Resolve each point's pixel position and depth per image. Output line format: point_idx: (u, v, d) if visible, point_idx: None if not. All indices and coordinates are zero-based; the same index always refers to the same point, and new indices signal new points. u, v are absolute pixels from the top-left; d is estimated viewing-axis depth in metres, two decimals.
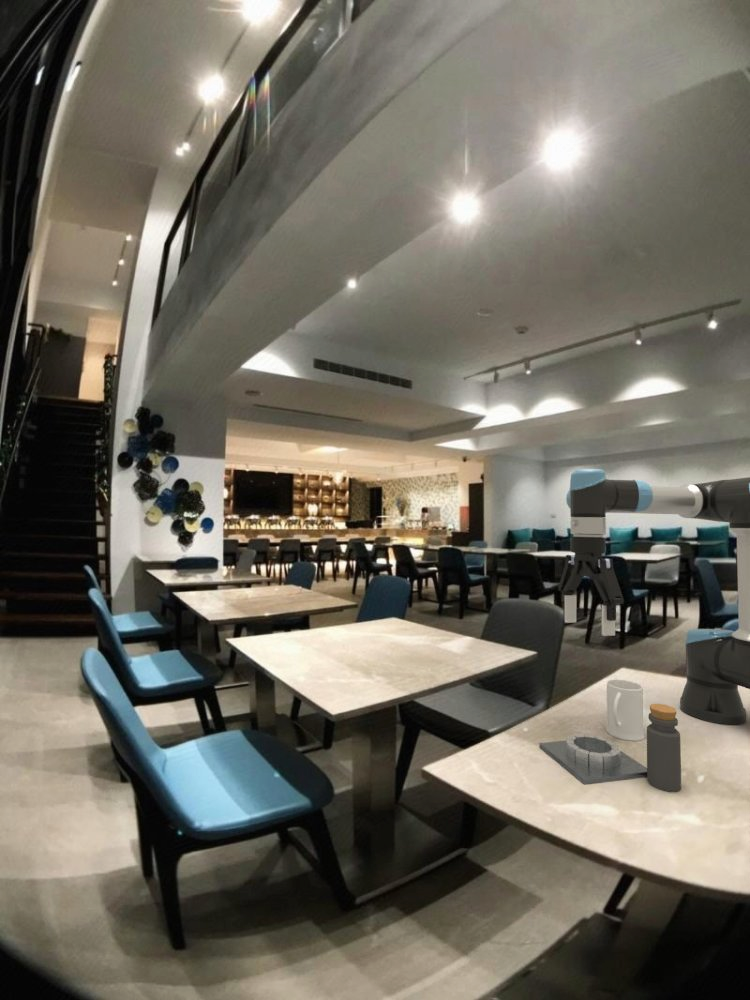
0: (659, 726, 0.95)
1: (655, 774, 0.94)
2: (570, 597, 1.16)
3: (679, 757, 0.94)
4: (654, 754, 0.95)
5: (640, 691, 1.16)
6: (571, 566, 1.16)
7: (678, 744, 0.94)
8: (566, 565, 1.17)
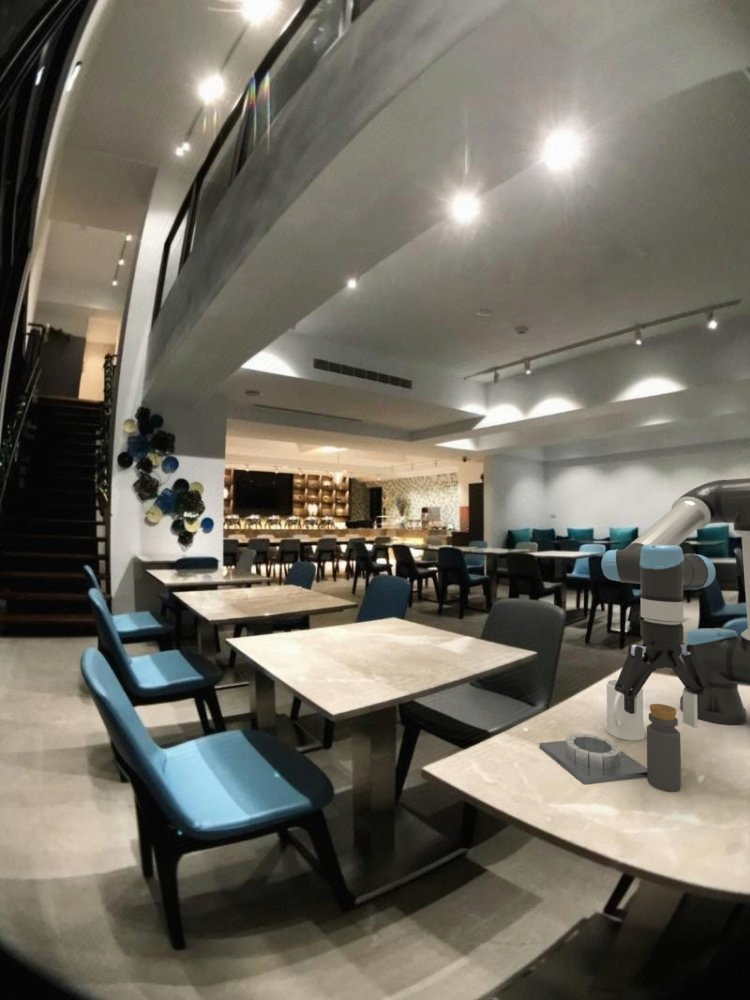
0: (659, 726, 0.95)
1: (655, 774, 0.94)
2: (687, 694, 0.98)
3: (679, 757, 0.94)
4: (654, 754, 0.95)
5: (640, 691, 1.16)
6: (685, 657, 0.98)
7: (678, 744, 0.94)
8: None
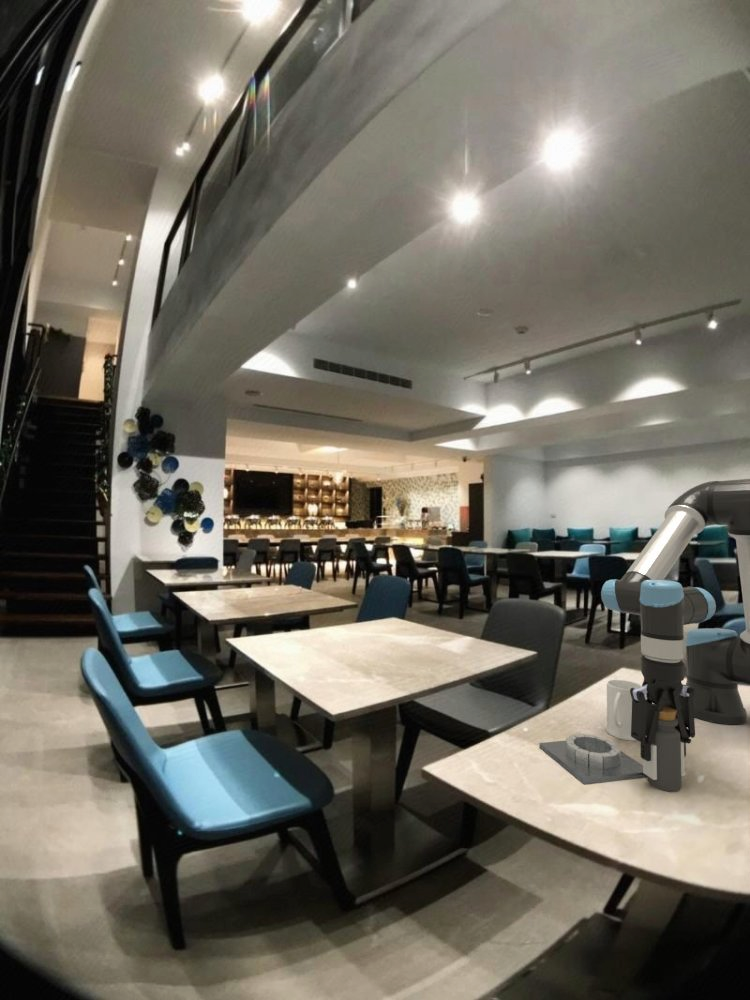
0: (659, 726, 0.95)
1: None
2: None
3: (679, 757, 0.94)
4: None
5: None
6: (682, 698, 0.98)
7: (678, 744, 0.94)
8: None
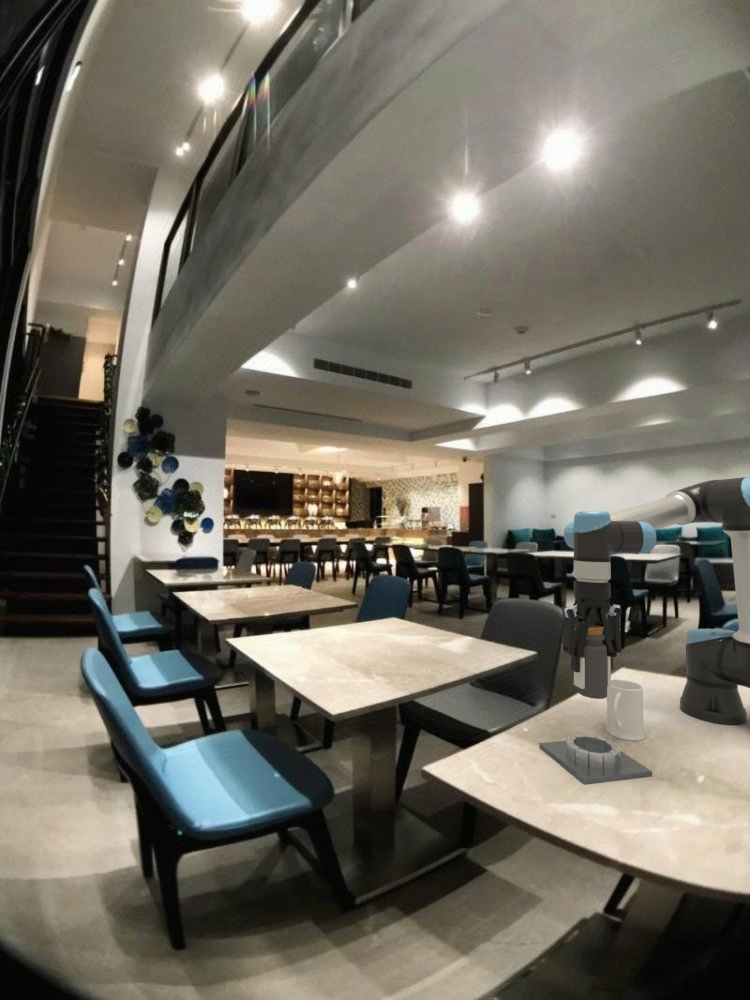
0: (588, 641, 1.05)
1: None
2: None
3: (605, 668, 1.03)
4: None
5: (640, 691, 1.16)
6: (610, 618, 1.07)
7: (604, 656, 1.03)
8: None
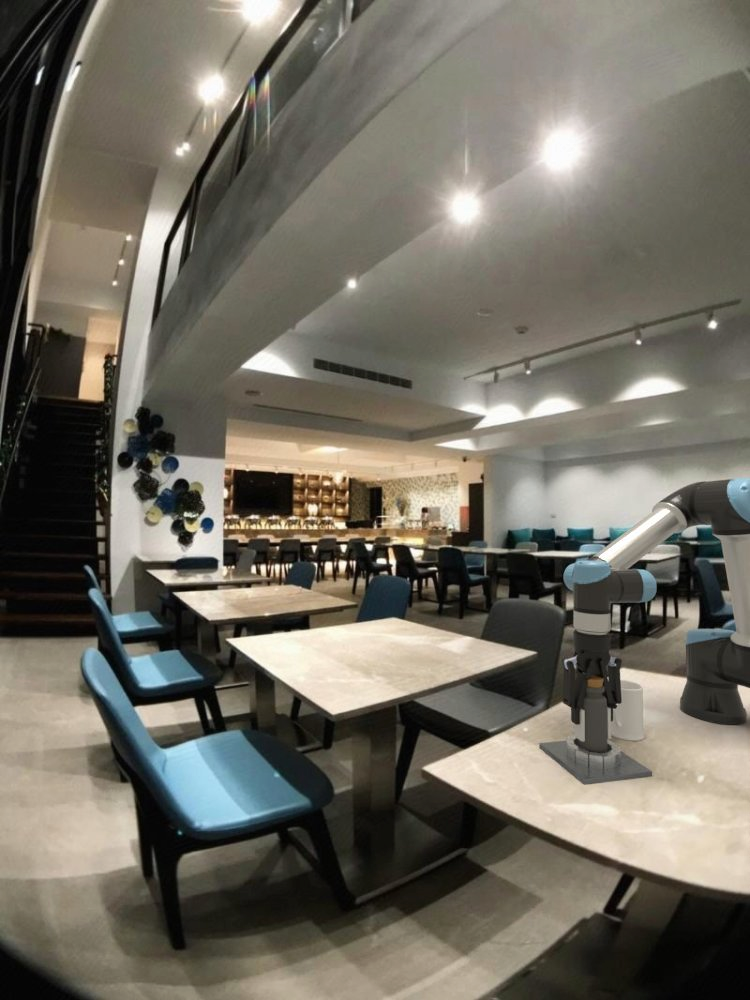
0: (588, 693, 1.04)
1: None
2: None
3: (605, 721, 1.03)
4: None
5: (640, 691, 1.16)
6: (610, 668, 1.07)
7: (604, 709, 1.03)
8: None
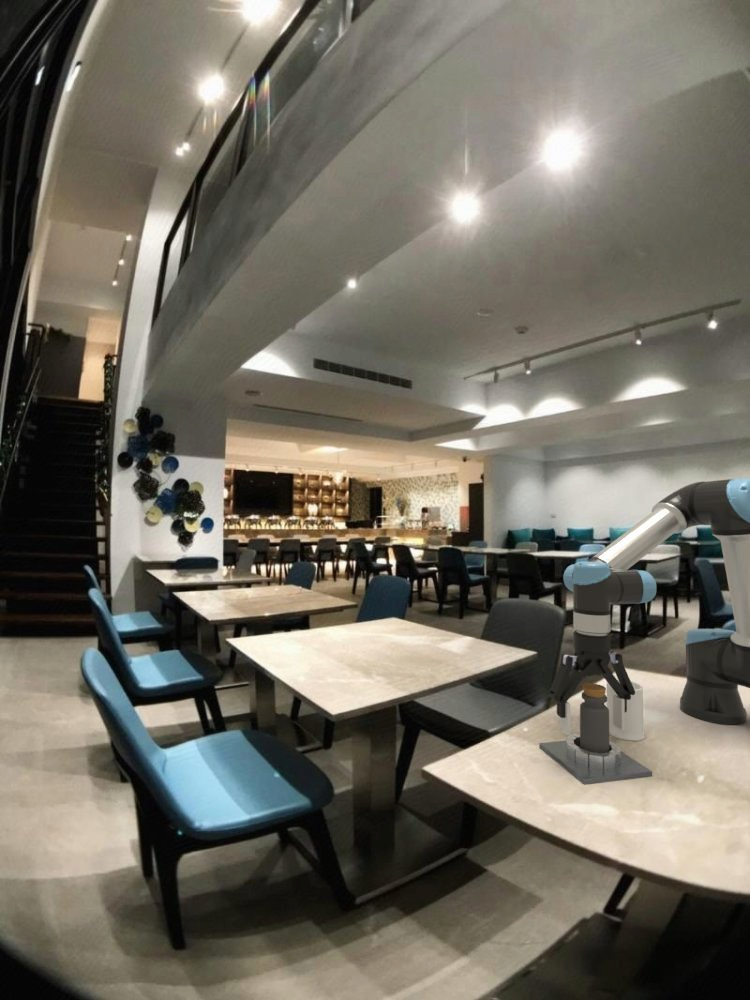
0: (590, 703, 1.04)
1: (585, 746, 1.04)
2: (616, 699, 1.07)
3: (607, 731, 1.03)
4: (585, 728, 1.04)
5: (640, 691, 1.16)
6: (614, 664, 1.07)
7: (606, 719, 1.03)
8: None
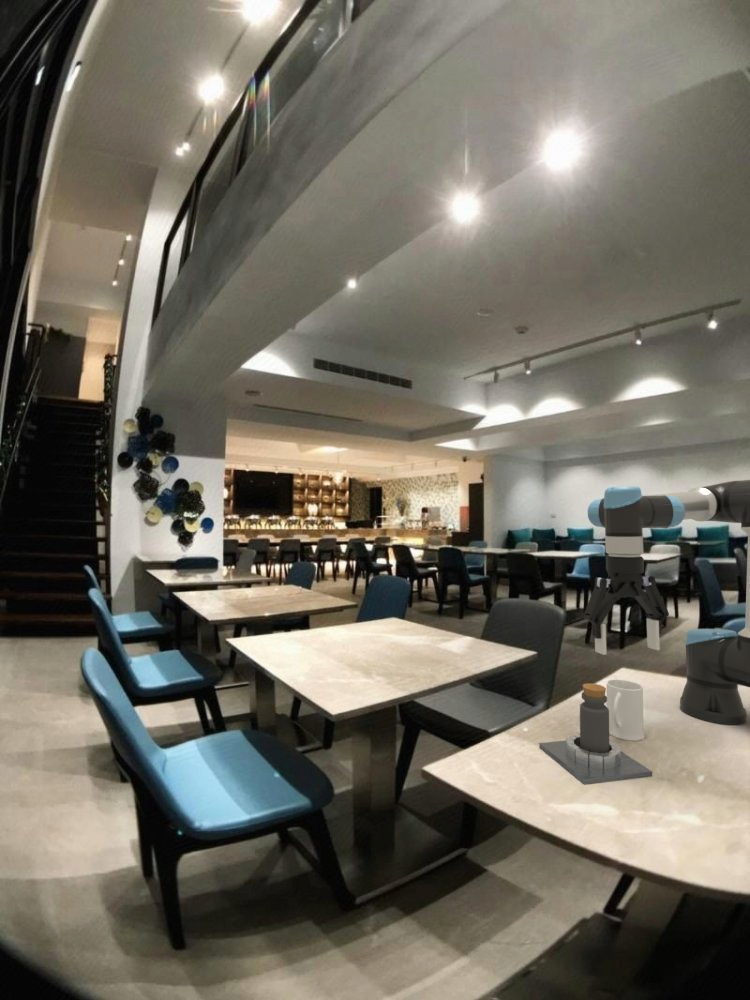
0: (590, 703, 1.04)
1: (585, 747, 1.04)
2: (650, 621, 1.08)
3: (607, 731, 1.03)
4: (585, 728, 1.04)
5: (640, 691, 1.16)
6: (647, 587, 1.08)
7: (606, 719, 1.03)
8: None
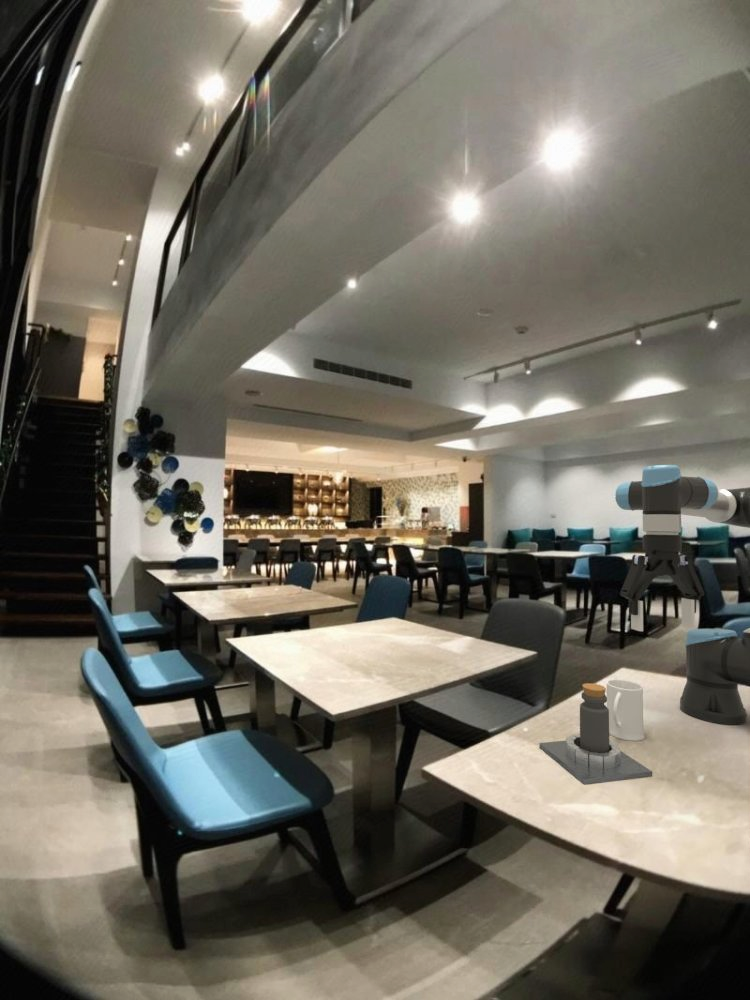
0: (590, 703, 1.04)
1: (585, 746, 1.04)
2: (685, 600, 1.09)
3: (607, 731, 1.03)
4: (585, 728, 1.04)
5: (640, 691, 1.16)
6: (683, 567, 1.09)
7: (606, 719, 1.03)
8: None
